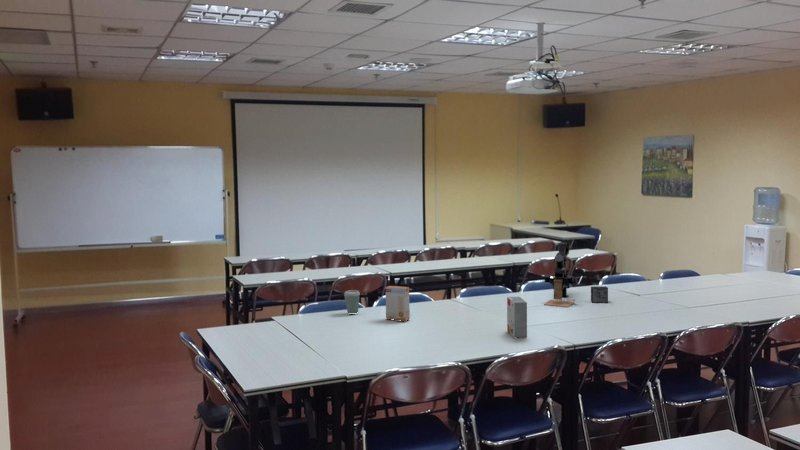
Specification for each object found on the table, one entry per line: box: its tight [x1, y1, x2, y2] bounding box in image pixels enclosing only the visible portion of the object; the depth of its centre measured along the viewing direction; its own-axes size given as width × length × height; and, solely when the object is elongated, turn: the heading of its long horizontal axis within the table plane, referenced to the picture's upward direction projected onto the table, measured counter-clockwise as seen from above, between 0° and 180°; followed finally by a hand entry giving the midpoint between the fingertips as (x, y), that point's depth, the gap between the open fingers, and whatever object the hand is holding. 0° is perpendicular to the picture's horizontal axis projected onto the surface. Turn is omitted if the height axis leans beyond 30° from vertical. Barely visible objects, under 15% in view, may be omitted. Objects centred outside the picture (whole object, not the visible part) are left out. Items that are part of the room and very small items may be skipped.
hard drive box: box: [506, 296, 528, 338], centre depth 361 cm, size 16×8×20 cm, turn 5°
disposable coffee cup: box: [343, 289, 361, 314], centre depth 419 cm, size 11×11×15 cm
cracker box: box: [385, 285, 411, 322], centre depth 400 cm, size 14×6×21 cm, turn 59°
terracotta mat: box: [543, 299, 575, 308], centre depth 439 cm, size 16×16×1 cm
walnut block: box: [553, 279, 563, 300], centre depth 435 cm, size 5×5×13 cm
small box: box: [590, 285, 609, 304], centre depth 443 cm, size 11×6×10 cm, turn 84°
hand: (557, 289), depth 434 cm, fingers closed on walnut block, 5 cm apart
